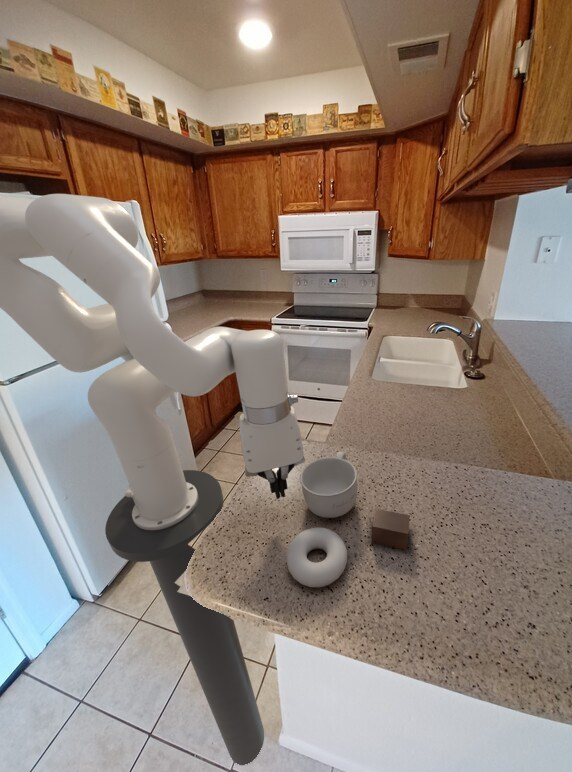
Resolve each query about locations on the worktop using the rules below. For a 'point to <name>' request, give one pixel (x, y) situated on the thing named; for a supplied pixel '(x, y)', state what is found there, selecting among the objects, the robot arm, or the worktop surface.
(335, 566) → the donut
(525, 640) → the worktop surface
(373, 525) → the block
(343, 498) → the teacup
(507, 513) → the worktop surface
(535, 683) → the worktop surface
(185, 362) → the robot arm
